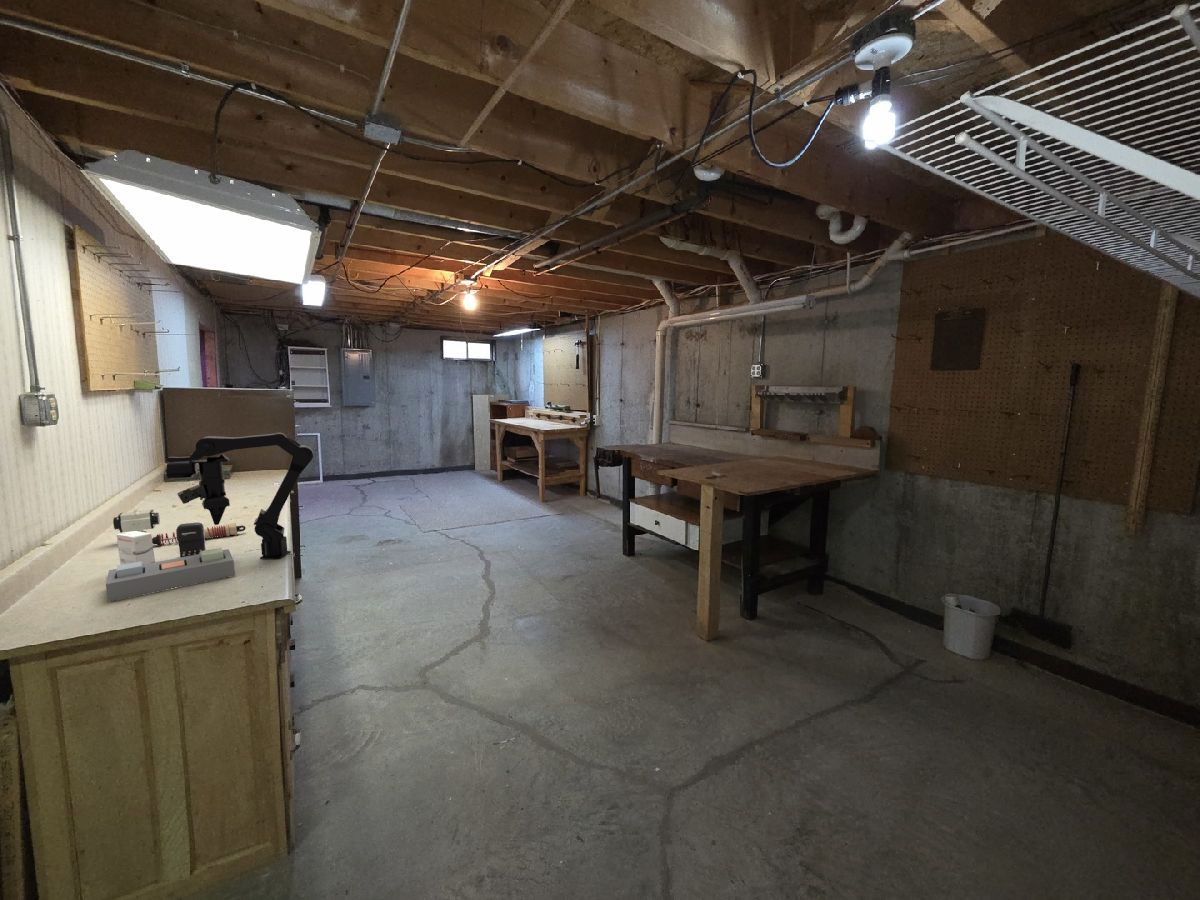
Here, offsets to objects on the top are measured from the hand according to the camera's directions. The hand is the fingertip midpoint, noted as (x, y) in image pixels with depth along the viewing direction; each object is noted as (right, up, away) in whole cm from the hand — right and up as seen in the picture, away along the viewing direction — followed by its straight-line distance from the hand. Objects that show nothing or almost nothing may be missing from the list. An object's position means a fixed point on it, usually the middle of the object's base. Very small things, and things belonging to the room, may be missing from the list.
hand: (216, 524), depth 154 cm
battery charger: (-14, -12, +8) cm, 20 cm away
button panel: (-2, -15, -12) cm, 19 cm away
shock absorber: (-27, -10, +25) cm, 38 cm away
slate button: (-9, -13, -19) cm, 24 cm away
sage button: (+4, -11, -7) cm, 14 cm away
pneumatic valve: (-46, -10, +22) cm, 52 cm away
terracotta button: (-2, -14, -12) cm, 19 cm away
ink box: (-21, -14, -4) cm, 25 cm away
